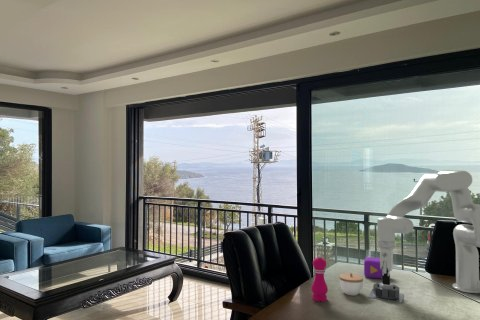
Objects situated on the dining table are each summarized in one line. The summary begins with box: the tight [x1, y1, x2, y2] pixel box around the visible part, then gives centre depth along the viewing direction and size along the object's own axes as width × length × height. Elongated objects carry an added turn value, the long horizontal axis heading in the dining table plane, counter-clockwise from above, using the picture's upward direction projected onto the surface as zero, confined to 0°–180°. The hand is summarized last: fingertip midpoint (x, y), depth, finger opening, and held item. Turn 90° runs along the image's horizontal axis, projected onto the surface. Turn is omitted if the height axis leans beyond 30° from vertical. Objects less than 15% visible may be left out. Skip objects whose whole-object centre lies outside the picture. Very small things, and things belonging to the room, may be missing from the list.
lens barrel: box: [368, 282, 405, 304], centre depth 164 cm, size 14×12×4 cm
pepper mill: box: [310, 254, 329, 302], centre depth 159 cm, size 7×7×20 cm
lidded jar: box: [339, 272, 364, 296], centre depth 167 cm, size 11×11×9 cm
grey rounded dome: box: [378, 282, 394, 290], centre depth 164 cm, size 6×6×4 cm
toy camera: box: [363, 255, 383, 280], centre depth 194 cm, size 11×14×10 cm
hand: (386, 283), depth 164 cm, fingers closed
